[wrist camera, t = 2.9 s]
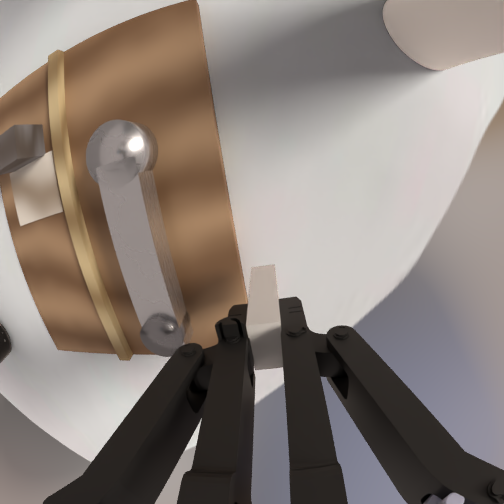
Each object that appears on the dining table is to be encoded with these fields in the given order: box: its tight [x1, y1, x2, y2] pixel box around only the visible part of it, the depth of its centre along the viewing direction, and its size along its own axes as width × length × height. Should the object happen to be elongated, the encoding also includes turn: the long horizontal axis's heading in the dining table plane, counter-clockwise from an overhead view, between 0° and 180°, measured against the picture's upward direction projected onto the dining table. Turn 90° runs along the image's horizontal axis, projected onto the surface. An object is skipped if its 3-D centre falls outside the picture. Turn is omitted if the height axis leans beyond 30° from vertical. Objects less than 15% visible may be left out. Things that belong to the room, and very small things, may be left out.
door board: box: [0, 0, 248, 361], centre depth 19 cm, size 30×24×5 cm
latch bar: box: [86, 120, 193, 357], centre depth 18 cm, size 17×4×3 cm, turn 9°
